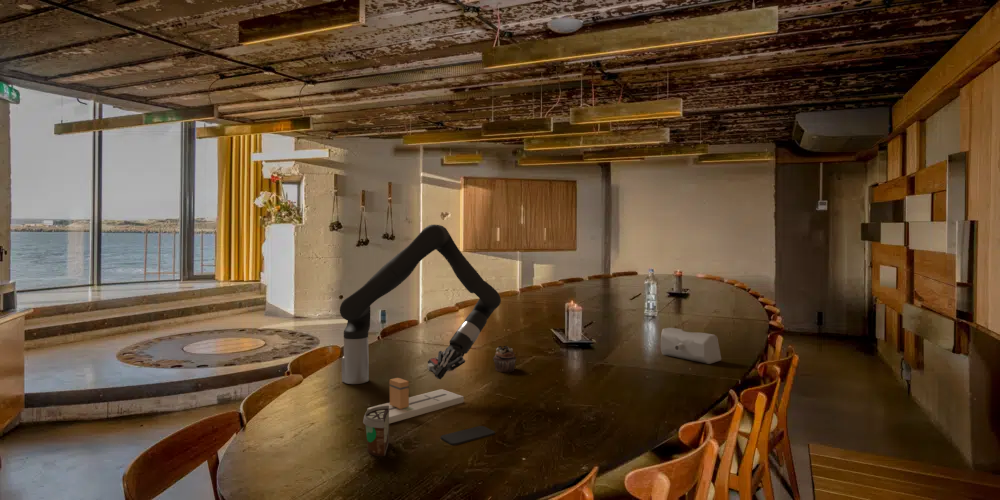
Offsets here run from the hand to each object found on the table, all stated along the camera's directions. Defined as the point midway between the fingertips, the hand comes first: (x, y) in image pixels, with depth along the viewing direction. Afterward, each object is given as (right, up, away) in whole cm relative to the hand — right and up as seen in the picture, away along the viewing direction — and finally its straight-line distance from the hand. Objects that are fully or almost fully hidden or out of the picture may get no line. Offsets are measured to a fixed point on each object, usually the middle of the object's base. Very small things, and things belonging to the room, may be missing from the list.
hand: (437, 377), depth 188 cm
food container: (-12, -10, -40) cm, 43 cm away
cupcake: (+23, -7, +43) cm, 50 cm away
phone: (+12, -10, -30) cm, 34 cm away
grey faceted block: (+106, -6, +63) cm, 123 cm away
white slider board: (-6, -9, -6) cm, 12 cm away
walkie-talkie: (-5, -7, +45) cm, 46 cm away
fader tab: (-11, -6, -11) cm, 17 cm away
